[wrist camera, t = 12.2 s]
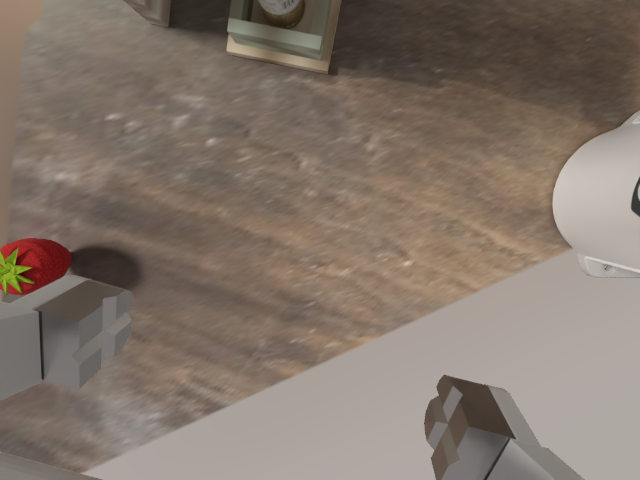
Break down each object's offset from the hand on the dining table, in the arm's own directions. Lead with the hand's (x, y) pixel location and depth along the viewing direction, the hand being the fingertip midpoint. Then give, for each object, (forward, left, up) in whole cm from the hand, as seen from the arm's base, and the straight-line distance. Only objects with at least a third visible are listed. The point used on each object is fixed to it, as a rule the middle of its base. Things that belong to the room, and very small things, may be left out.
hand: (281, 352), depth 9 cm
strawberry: (+30, +11, -31) cm, 45 cm away
